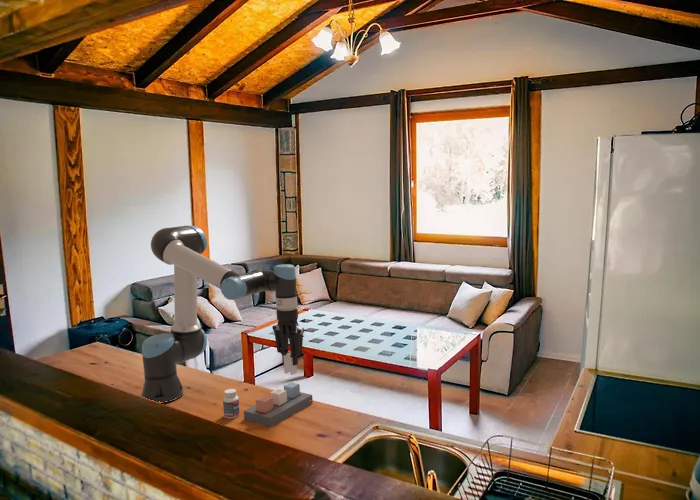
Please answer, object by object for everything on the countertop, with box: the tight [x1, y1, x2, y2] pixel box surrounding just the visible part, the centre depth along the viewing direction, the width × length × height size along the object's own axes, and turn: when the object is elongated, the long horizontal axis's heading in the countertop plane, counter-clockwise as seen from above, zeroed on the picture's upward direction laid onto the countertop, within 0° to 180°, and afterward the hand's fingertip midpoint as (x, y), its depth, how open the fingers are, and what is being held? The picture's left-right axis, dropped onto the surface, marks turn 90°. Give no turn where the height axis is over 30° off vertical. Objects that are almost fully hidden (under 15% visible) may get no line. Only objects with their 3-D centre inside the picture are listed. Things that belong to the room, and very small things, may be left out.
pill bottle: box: [222, 388, 240, 420], centre depth 180 cm, size 5×5×9 cm
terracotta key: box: [255, 395, 273, 413], centre depth 176 cm, size 4×4×4 cm
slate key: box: [283, 381, 301, 399], centre depth 187 cm, size 4×4×4 cm
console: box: [243, 391, 314, 428], centre depth 182 cm, size 12×22×3 cm, turn 146°
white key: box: [269, 388, 287, 406], centre depth 182 cm, size 4×4×4 cm
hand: (290, 372), depth 187 cm, fingers open, 2 cm apart
